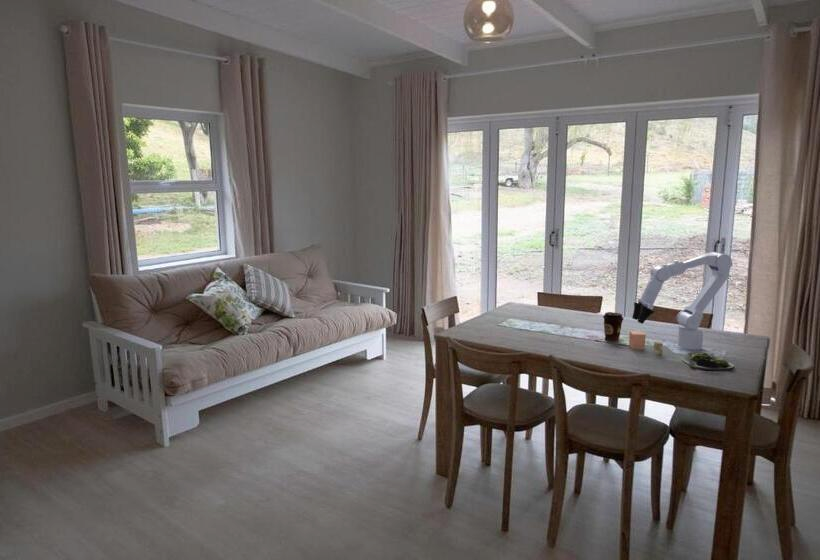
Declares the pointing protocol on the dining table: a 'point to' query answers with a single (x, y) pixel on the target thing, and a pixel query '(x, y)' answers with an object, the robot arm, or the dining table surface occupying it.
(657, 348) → the post
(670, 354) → the mat
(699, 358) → the salad plate
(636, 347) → the peach foam cube
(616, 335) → the coffee cup
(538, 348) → the dining table surface
